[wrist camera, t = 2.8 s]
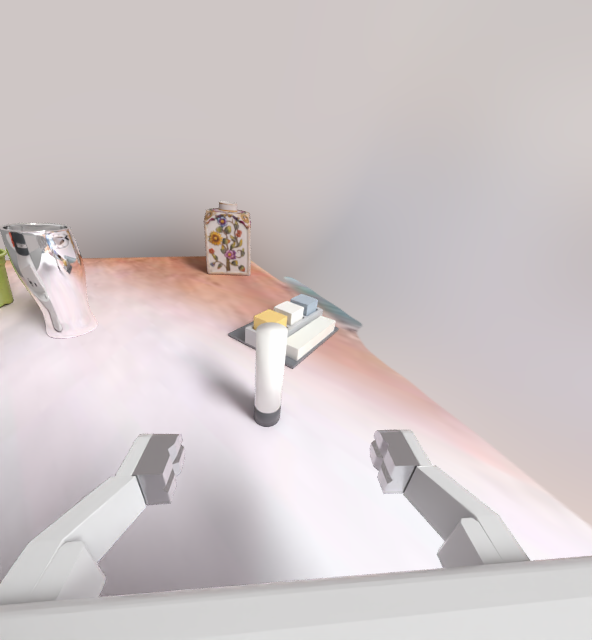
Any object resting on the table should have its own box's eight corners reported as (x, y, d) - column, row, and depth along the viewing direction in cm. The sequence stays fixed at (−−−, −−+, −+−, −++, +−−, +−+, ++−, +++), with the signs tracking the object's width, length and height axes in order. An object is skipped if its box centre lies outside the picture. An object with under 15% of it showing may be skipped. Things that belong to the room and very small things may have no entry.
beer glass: (90, 314, 42) (60, 221, 36) (110, 327, 39) (81, 229, 32) (35, 329, 37) (-12, 223, 30) (54, 346, 34) (5, 233, 27)
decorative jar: (211, 263, 77) (207, 199, 68) (249, 264, 79) (250, 203, 71) (206, 274, 66) (201, 201, 58) (250, 276, 69) (251, 206, 61)
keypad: (228, 335, 41) (227, 319, 39) (282, 308, 52) (283, 295, 51) (292, 368, 35) (294, 351, 33) (338, 330, 46) (341, 315, 45)
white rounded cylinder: (248, 417, 27) (249, 330, 22) (265, 402, 29) (270, 319, 24) (268, 431, 25) (274, 341, 20) (284, 414, 28) (293, 329, 22)
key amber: (253, 333, 38) (253, 316, 37) (268, 325, 41) (269, 309, 40) (271, 342, 37) (272, 324, 35) (285, 332, 39) (287, 316, 38)
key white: (273, 322, 42) (273, 306, 41) (285, 316, 45) (286, 300, 43) (290, 330, 40) (291, 313, 39) (302, 322, 43) (303, 307, 42)
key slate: (289, 313, 46) (290, 299, 44) (299, 308, 48) (301, 293, 47) (305, 320, 44) (307, 305, 43) (315, 314, 47) (317, 299, 45)
